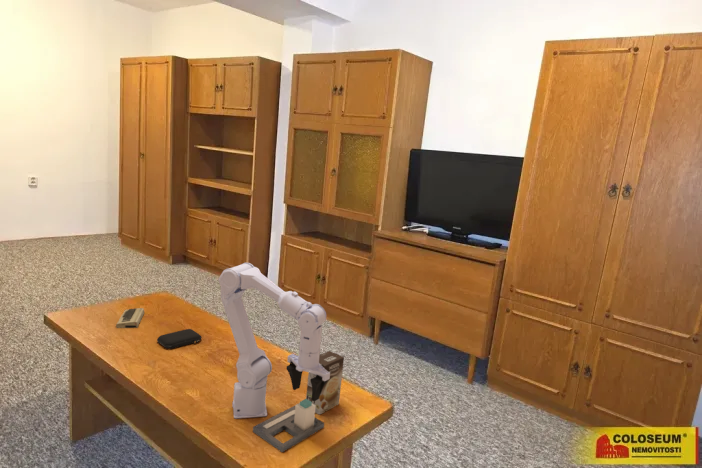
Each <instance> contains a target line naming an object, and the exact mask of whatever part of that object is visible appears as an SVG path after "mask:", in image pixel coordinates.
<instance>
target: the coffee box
mask: <svg viewBox="0 0 702 468" xmlns="http://www.w3.org/2000/svg"><path fill="white" fill-rule="evenodd" d="M344 360H345V357H344V356H342V355H340V354H337V353H336V352H333V351H331V350H329V351H328V350H327V351H325V352H324V353H320V356H319V364H320V365H321V366H322V367H323V368H324V369H326V370H327V371H328V372H330V379H329V380H328V381H327V383H326V384H325V386H324V387H323V389H322V392H321V394H320V397H319V399H318V400H316V401H312V384H311V381H310V379H312V378H314V377H316V375H315V374H313V373H309V372H308V374H307V375H308V376H307V385H306V395H305V399H307V400H309V401H311V402H312V404H314V405H316V407H315V414H318V415H321V414H324V413H326V412H327V411H329V410H331V409H333V408H335V407H336V405H337V406H338V405H339V404H340V397H341V389H342V388H341V386H342V380H343V379H342V378H343V369H344V362H345V361H344ZM334 406H335V407H334ZM325 411H326V412H325Z"/></svg>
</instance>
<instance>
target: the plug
mask: <svg viewBox="0 0 702 468" xmlns="http://www.w3.org/2000/svg"><path fill="white" fill-rule="evenodd" d="M294 406H295V418H294V424H295V425H296V426H298V427H299V428H301V429H302V430H304V431H305V430H307V429H308V428H310V427H312V426H314V418H316V417H315V416H316V415H315V414H316V413H315V407H316V405H314V404H312V402H311V401H309V400H307V399H306V398H305V399H302V400H300V401H299V403H296V404H295V405H294Z"/></svg>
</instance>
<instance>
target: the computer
mask: <svg viewBox="0 0 702 468" xmlns="http://www.w3.org/2000/svg"><path fill="white" fill-rule="evenodd" d="M144 315H145V309H144V308H142V307H141V308H140V307H139V308H136V307H134V308H129V309H125V310H124V311H123V313H122V314H121V316H120V317H119V320H118V321H117V323H116V324H115V328H116V329H138V328H139V324H140V323H141V321H142V320H143V317H144Z"/></svg>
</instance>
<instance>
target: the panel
mask: <svg viewBox="0 0 702 468" xmlns="http://www.w3.org/2000/svg"><path fill="white" fill-rule="evenodd" d="M295 406H296V405H293V406H290V408H287V409H286V410H283V411H281V412H279V413H277V414H275V415H273V416H272V417H269V418H268V419H266V420H264V421H262V422H260V423H257V424H256V425H254V426H252V433H254V434H255V435H256V436H258V437H259V436H260V439H262V440H263V441H266V442H267V443H268V444H269V445H271V446H272V447H274V448H275V449H276V448H277V449H276V450H278V451H279V450H280V451H279V452H280V453H282V452H283V453H284V452H285V450H286V451H288V450H289V449H291V448H293V447H294V446H296V445H298V444H299V443H301V442H303V441H304V440H306V439H308V438H309V437H311V436H312V435H314V434H315V432H316V433H318V432H319V431H320V429H321V430H322V429H324V428H325V422H323V421H322V420H320V419H319V418H317V417H315V418H314V426H312V427H310V428H308V429H307V430H305V431H304V430H302V429H301V428H299V427H298V426H296V425H295V424H294V418H295ZM284 430H285V431H284ZM318 430H319V431H318ZM283 431H284V432H286V433H287V432H288V434H289V435H291V436H292V438H289V439H288V440H287V441H285V442H282V441H281V440H279V439H277V438H276V437H275V436H276V435H278V434H279V432H280V433H281V432H283ZM310 435H311V436H310ZM292 446H293V447H292ZM287 449H288V450H287Z"/></svg>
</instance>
